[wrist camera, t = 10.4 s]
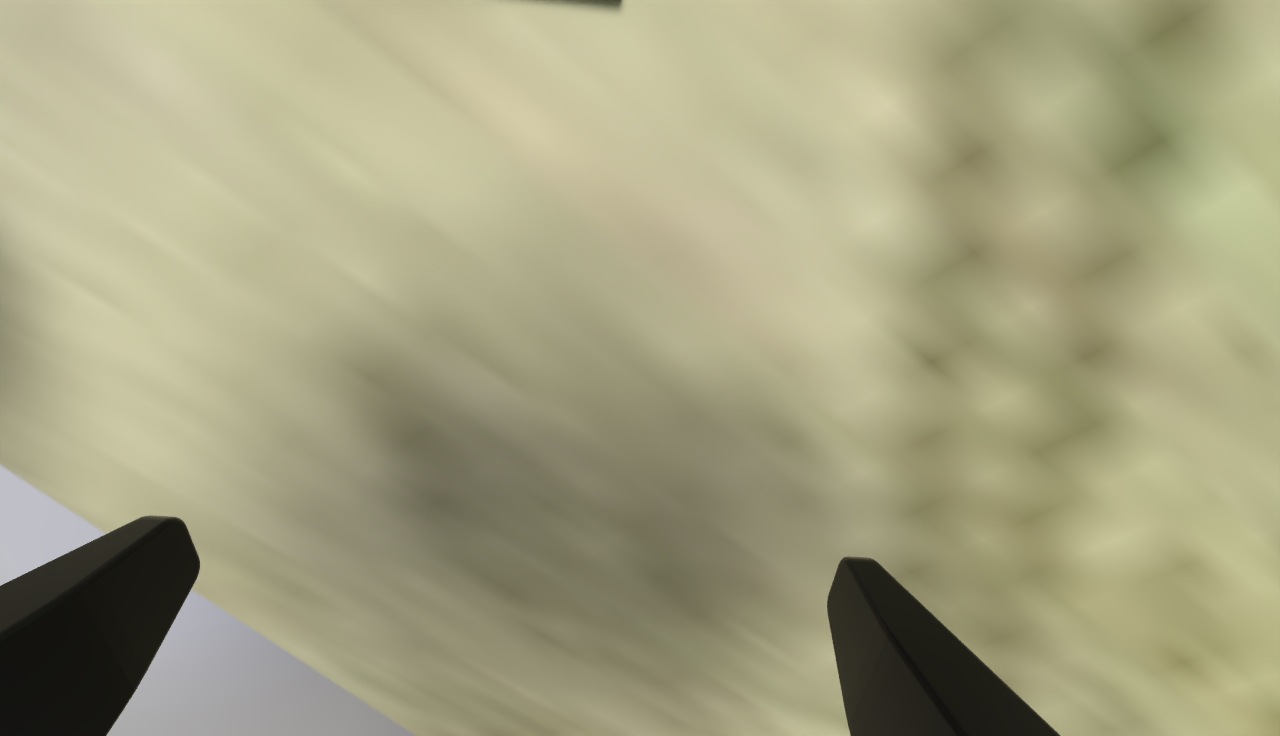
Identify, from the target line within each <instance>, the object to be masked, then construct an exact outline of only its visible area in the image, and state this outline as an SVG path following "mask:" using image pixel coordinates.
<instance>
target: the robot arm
mask: <svg viewBox="0 0 1280 736" xmlns="http://www.w3.org/2000/svg"><path fill="white" fill-rule="evenodd" d="M199 569H200V560H199V556H198V554H197V551H196V549H195V546H194V544H193V542H192V539H191V537H190V534H189V532H188V529H187V527H186V525H185V523H184V522H183V521H182V520H181V519H180V518H177V517H167V516H145V517H141V518H139V519H137V520H135V521H132V522H130V523H128V524H126V525H124V526H122V527H120V528H118V529H116V530H114V531H112V532H110V533H108V534H106V535H104V536H102V537H100V538H98V539H96V540H93V541H91V542H89V543H87V544H85V545H83V546H81V547H79V548H77V549H75V550H73V551H71V552H69V553H67V554H65V555H63V556H61V557H59V558H57V559H55V560H52V561H50V562H48V563H46V564H44V565H42V566H40V567H38V568H36V569H34V570H32V571H30V572H28V573H26V574H24V575H22V576H20V577H18V578H16V579H13V580H12V581H9V582H7V583H5V584H3V585H1V586H0V736H106V735H107V734H108V732H109V731H110V729H111V728H112V726H113V725H114V723H115V722H116V720H117V719H118V717H119V716H120V714H121V713H122V711H123V710H124V708H125V706H126V705H127V703H128V702H129V700H130V698H131V697H132V695H133V694H134V692H135V691H136V689H137V687H138V685H139V684H140V682H141V680H142V678H143V677H144V675H145V673H146V671H147V670H148V668H149V666H150V664H151V662H152V660H153V658H154V657H155V655H156V653H157V651H158V649H159V647H160V646H161V644H162V642H163V640H164V638H165V636H166V635H167V633H168V631H169V629H170V627H171V625H172V623H173V622H174V620H175V618H176V616H177V614H178V612H179V610H180V609H181V607H182V605H183V603H184V601H185V599H186V598H187V596H188V594H189V592H190V590H191V588H192V587H193V585H194V583H195V581H196V579H197V576H198V573H199ZM827 610H828V618H829V623H830V629H831V634H832V640H833V645H834V651H835V657H836V662H837V668H838V673H839V679H840V685H841V690H842V696H843V701H844V707H845V712H846V717H847V722H848V726H849V730H850V734H851V736H1060V735H1059V734H1058V733H1057V732H1056V731H1055V730H1054V729H1053V728H1052V727H1051V726H1050V725H1049V724H1048V723H1047V722H1046V721H1045V720H1043V719H1042V718H1041V717H1040V716H1039V715H1038V714H1037V713H1036V712H1035V711H1034V710H1033V709H1032V708H1031V707H1030V706H1029V705H1028V704H1027V703H1026V702H1024V701H1023V700H1022V699H1021V698H1020V697H1019V696H1018V695H1017V694H1016V693H1015V692H1014V691H1013V690H1012V689H1011V688H1010V687H1009V686H1008V685H1007V684H1005V683H1004V682H1003V681H1002V680H1001V679H1000V678H999V677H998V676H997V675H996V674H995V673H994V672H993V671H992V670H991V669H990V668H989V667H987V666H986V665H985V664H984V663H983V662H982V661H981V660H980V659H979V658H978V657H977V656H976V655H975V654H974V653H973V652H972V651H971V650H970V649H968V648H967V647H966V646H965V645H964V644H963V643H962V642H961V641H960V640H959V639H958V638H957V637H956V636H955V635H954V634H953V633H952V632H951V631H949V630H948V629H947V628H946V627H945V626H944V625H943V624H942V623H941V622H940V621H939V620H938V619H937V618H936V617H935V616H934V615H933V614H932V613H930V612H929V611H928V610H927V609H926V608H925V607H924V606H923V605H922V604H921V603H920V602H919V601H918V600H917V599H916V598H915V597H914V596H913V595H911V594H910V593H909V592H908V591H907V590H906V589H905V588H904V587H903V586H902V585H901V584H900V583H899V582H898V581H897V580H896V579H895V578H894V577H892V576H891V575H890V574H889V573H888V572H887V571H886V570H885V569H884V568H883V567H882V566H881V565H880V564H879V563H878V562H876V561H875V560H873V559H871V558H861V557H844V558H843V559H842V560H841V561H840V563H839V565H838V568H837V571H836V574H835V577H834V580H833V583H832V586H831V589H830V592H829V595H828V601H827Z"/></svg>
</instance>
